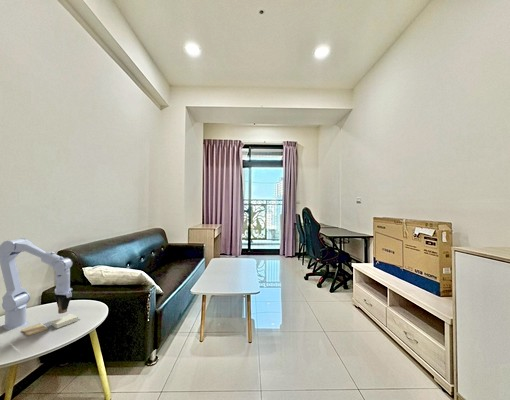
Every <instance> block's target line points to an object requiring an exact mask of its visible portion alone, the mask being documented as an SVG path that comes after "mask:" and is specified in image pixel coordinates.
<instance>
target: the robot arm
mask: <svg viewBox="0 0 510 400" xmlns="http://www.w3.org/2000/svg"><path fill="white" fill-rule="evenodd" d="M22 252H25V253H27V254H28V253H29V254H30V255H33V256H35V257H37V258H40V261H41V262H42V263H45V264H47V265H49V266H50V267H52V269H53V270H54V272H55V288H54V294H53V298H54V300H55V301H56V305H57V306H58V303H59V300H60V303H61V308H62V310H65V309H67V310H68V309H69V305H70V301H71V299H72V298H73V293H72V291H73V288H72V287H71V267H72V266H73V259H71V258H69V257H63V256H60V255H58V254H56V252H55V251H45V250H44V249H41V247H39V246H37V245H36V244H33V242H32V241H31V240H28V239H26V238H23V237H20V238H17V239H11V240H5V241H3V242H1V244H0V270H1V272H2V273H1V274H2V279H3V282H4V286H5V291H6V292H5V294H4V295H3V296H2V303H1V307H2V309H3V310H4V311H5V313H4V324H2V327H3V328H4V329H5V330H6V331H11V330H14V329H17V328H20V327H23V326H26V325H29V324H30V322H28V321H27V306H28V303H29V302H30V301H31V295H30V293H29V292H28V290H27V288H25V287H22V283H21V279H20V278H21V277H20V275H19V270H18V269H19V268H18V266H17V262H16V257H18V256H19V254H21V253H22Z"/></svg>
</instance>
